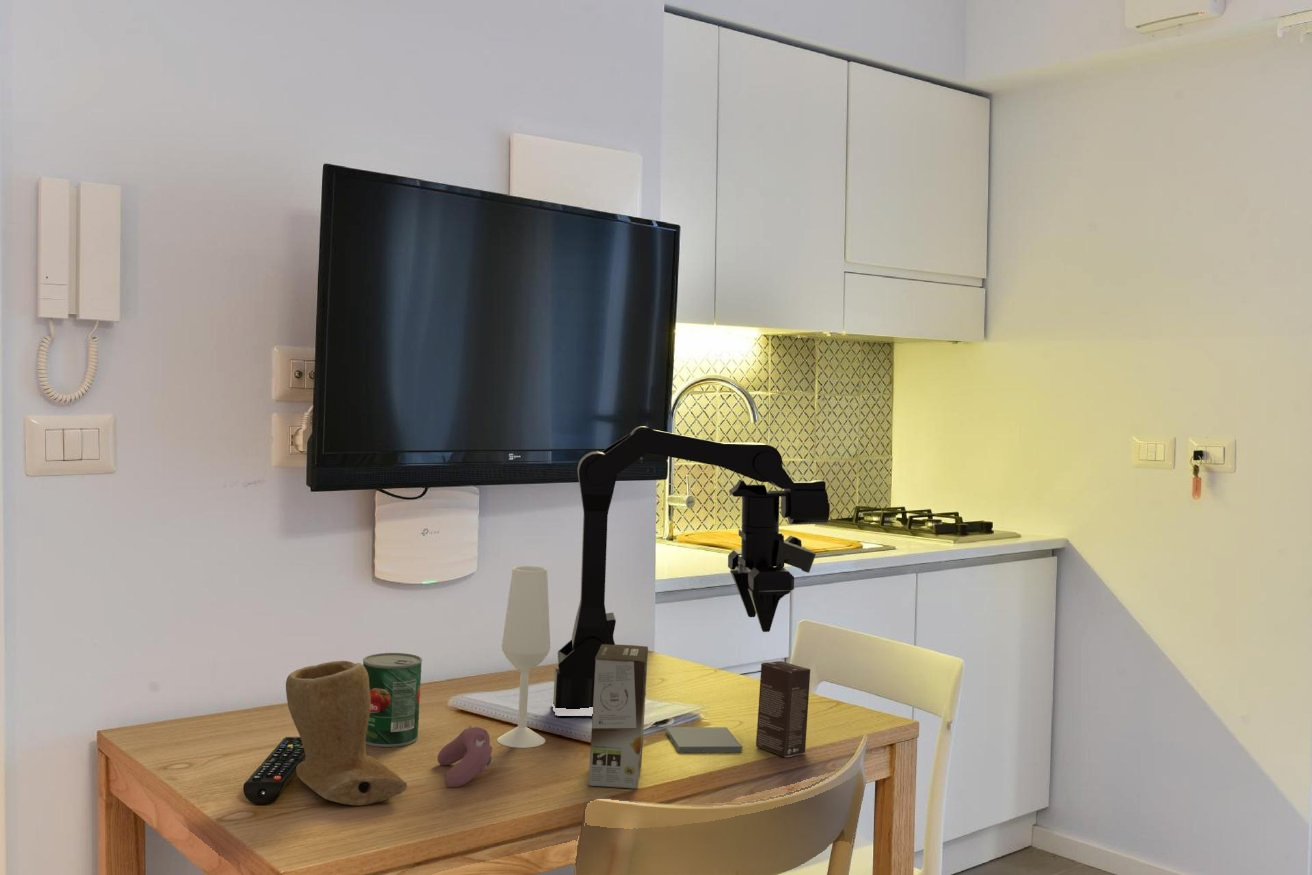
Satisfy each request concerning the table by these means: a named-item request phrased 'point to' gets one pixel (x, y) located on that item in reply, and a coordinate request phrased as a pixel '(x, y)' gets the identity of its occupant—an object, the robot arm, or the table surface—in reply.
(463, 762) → the purple curved piece
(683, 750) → the slate pad
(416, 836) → the table surface
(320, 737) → the brown boot
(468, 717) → the table surface
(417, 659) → the canned tomato
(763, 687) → the box
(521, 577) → the champagne flute
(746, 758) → the table surface
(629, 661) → the coffee box
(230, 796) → the table surface
